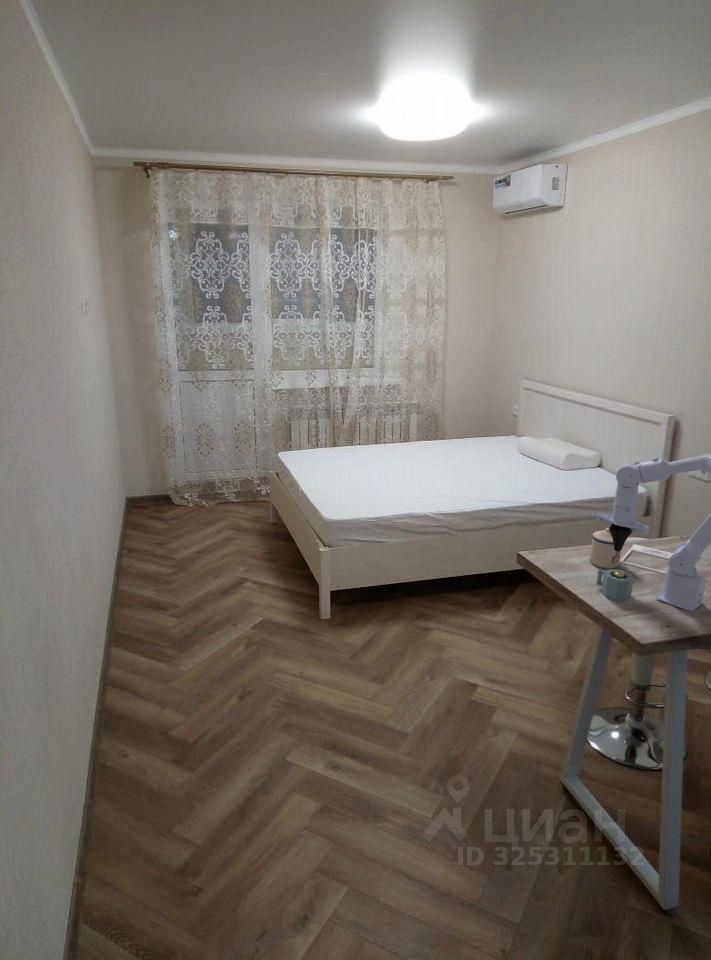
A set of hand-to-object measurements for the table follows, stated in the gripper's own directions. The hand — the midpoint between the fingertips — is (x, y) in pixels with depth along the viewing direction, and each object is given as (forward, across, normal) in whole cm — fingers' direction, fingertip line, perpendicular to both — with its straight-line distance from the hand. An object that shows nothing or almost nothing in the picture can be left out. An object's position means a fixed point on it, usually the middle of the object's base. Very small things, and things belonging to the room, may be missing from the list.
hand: (618, 550), depth 185 cm
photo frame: (+11, 0, -26) cm, 28 cm away
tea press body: (+10, -3, +6) cm, 13 cm away
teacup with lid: (+11, +9, -13) cm, 19 cm away
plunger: (+9, -4, +6) cm, 12 cm away
